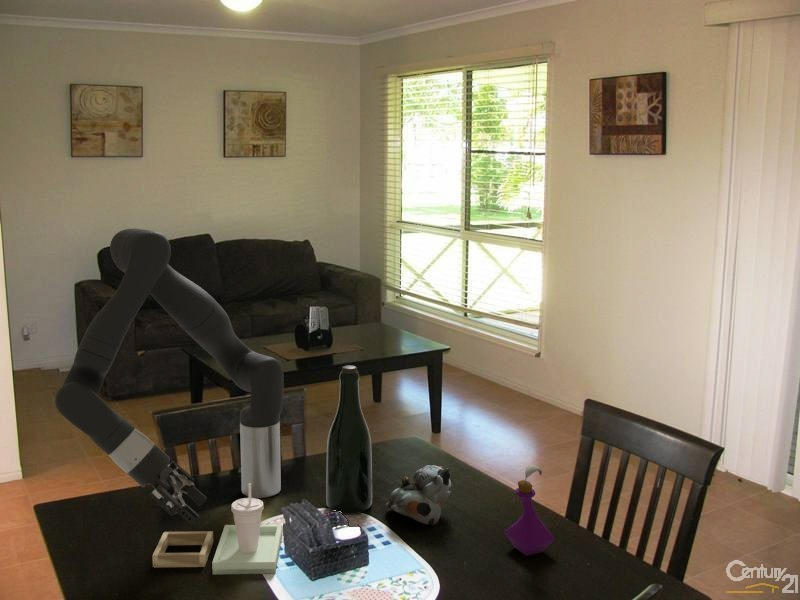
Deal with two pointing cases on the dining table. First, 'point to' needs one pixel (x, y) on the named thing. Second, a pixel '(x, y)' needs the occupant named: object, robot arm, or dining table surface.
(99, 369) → the robot arm
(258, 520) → the smoothie
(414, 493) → the lucky cat figurine
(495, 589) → the dining table surface
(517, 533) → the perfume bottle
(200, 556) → the collar
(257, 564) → the tray
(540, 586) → the dining table surface
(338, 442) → the green wine bottle
